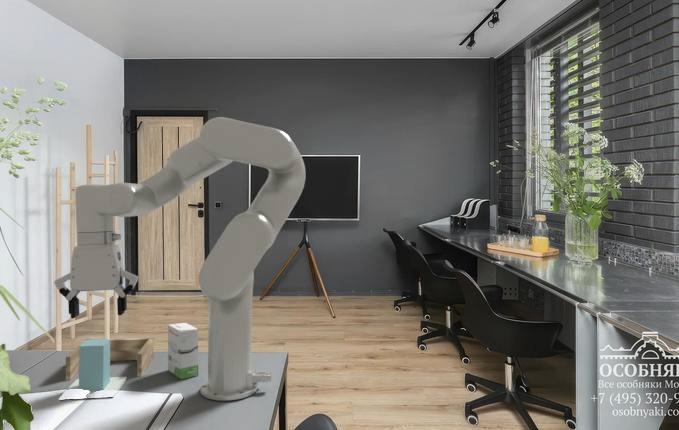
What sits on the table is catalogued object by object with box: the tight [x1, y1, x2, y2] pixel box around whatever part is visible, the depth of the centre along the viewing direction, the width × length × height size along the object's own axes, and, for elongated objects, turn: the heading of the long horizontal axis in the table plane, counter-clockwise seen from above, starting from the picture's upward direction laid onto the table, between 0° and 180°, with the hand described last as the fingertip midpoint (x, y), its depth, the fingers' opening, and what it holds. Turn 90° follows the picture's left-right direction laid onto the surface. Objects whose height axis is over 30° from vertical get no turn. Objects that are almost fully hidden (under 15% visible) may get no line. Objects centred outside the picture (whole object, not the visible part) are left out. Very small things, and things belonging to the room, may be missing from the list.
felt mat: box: [66, 376, 128, 398], centre depth 107 cm, size 11×11×1 cm
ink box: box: [167, 322, 199, 380], centre depth 118 cm, size 9×5×12 cm, turn 39°
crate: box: [65, 337, 154, 381], centre depth 121 cm, size 17×14×6 cm
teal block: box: [78, 338, 111, 391], centre depth 107 cm, size 5×5×10 cm
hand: (98, 315), depth 107 cm, fingers open, 9 cm apart
